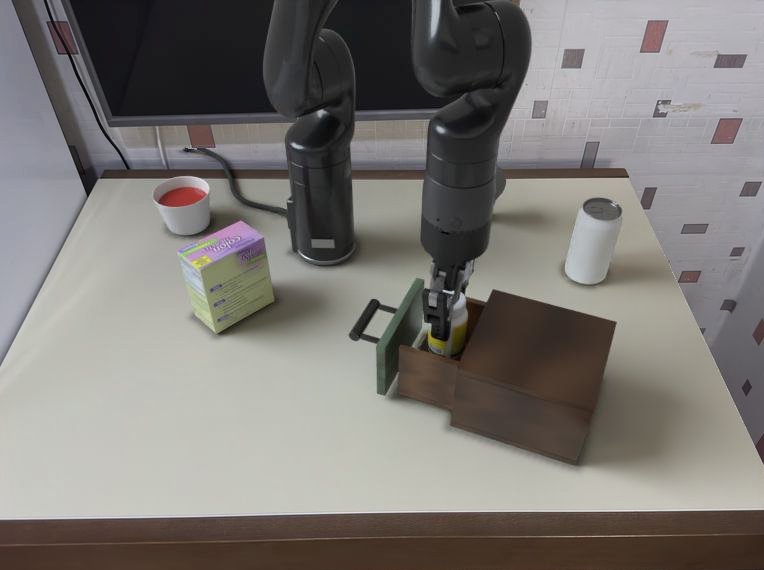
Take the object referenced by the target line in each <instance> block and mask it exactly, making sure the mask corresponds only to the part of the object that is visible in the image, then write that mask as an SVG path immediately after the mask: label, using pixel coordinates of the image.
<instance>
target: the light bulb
mask: <svg viewBox="0 0 764 570" xmlns="http://www.w3.org/2000/svg"><path fill="white" fill-rule="evenodd" d="M506 186H507V177H506V174H505V172H504V170H503V169H502V168H501V166H499V165H498V164H496V172H495V200H494V206H495V204H496V201H497V200H498V199H499V198H500V196H501V195H502V194H503V193H504V191H505V189H506Z"/></svg>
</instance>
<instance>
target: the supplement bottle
mask: <svg viewBox="0 0 764 570" xmlns="http://www.w3.org/2000/svg"><path fill="white" fill-rule="evenodd" d="M443 292H446V293H449V294H454V291H446V290H443ZM465 296H466V294H465V295H464V294H463V293H462V292H461V294H460V299H459V301H458V302H457V303H456V304H455V305H454V307H453V313H452V315H453V316H452V319H451V330H450V337H449V339H448V341H446V342H444V341H441V340H437V339H434V338H432V337H431V324H430V323H427V324H428V325H427V334H428V350H429V352H430V353H432V354H435V355H439V356H442V357H445V358H449V359H452V360H453V359H456V358H458V357H460V356H461V355H462V353H463V352H464V348H465V340H466V330H467V321H468V312H467V309H466V297H467V296H466V297H465ZM447 307H448V305H447Z"/></svg>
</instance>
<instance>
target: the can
mask: <svg viewBox="0 0 764 570" xmlns="http://www.w3.org/2000/svg"><path fill="white" fill-rule="evenodd" d="M622 215H623V209H622V206H621V205H620V204H619V203H618V202H616V201H614V200H613V199H610V198H607V197H599V196H598V197H597V196H596V197H590V198H588V199H586V200H585V201H584V202H583V204H582V207H581V208H580V209H579V210H578V212H577V214H576V219H575V221H574V227H573V232H572V235H571V237H570V238H571V239H570V242H569V247H568V251H567V255H566V259H565V264H564V273H565V274H566V275H567V277H568V278H569V279H570V280H572V281H573V282H575V283H577V284H580V285H584V286H585V285H586V286H592V285H596V284H600V283H601V282H602V281H604V280H605V278H606V277H607V274H608V271H609V268H610V265H611V261H612V258H613V255H614V251H615V248H616V244H617V242H618V238H619V236H620V235H619V234H620V232H621V228H622V225H623V217H622Z"/></svg>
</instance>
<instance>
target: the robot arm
mask: <svg viewBox="0 0 764 570" xmlns="http://www.w3.org/2000/svg"><path fill="white" fill-rule="evenodd" d="M338 1H339V0H273V6H272V11H271V17H270V21H269V26H268V31H267V35H266V40H265V46H264V51H263V58H262V79H263V84H264V89H265V93H266V96H267V98H268V100H269V102H270V104H271V106H272V107H273V108H274V110H275V111H276V112H278V114H280V115H281V116H284V117H286V118H291V119H295V118H296V120H295V122H294V123H293V124H291V126H289V128H288V129H287V131H286V133H285V136H284V148H285V156H286V157H285V158H286V164H287V171H288V173H287V174H288V179H289V180H288V181H289V189H290V196H289V197H288V198H287V200H286V208H283V207H280V206H272V205H268V204H262V203H260V202H259V203H258V202H255V201H252V200H249V199H246V198H245V197H243V196H242V195H241V194H239V192H238V191H237V189H236V185H235V181H234V177H233V176H232V173H231V171H230V168H229V165H228V163H227V162H226V160H225V158H223V157H222V156H220V155H219V154H218V153H216V152H214V151H213V150H210V149H209V148H206V147H204V148H197V150H196V151H200V152H202V153H203V154H204V153H205V154H207V155H208V156H209V157H212V158H213V159H215V160H216V161H218V162H219V163H220V164H221V166H222V168H223V171H224V173H225V176H226V178H227V180H228V184H229V188H230V192H231V194H232V195H233V197H234V198H235V199H236V200H237V201H238V202H240V203H242V204H244V205H246V206H249V207H252V208H255V209H259V210H263V211H267V212H272V213H277V214H278V213H279V214H283V215H286V222H287V229H288V230H289V234H290V241H291V248H292V252H293V253H296V254H298V256H299V257H300V258H301V259H302V260H303V261H305V262H307V263H309V264H312V265H316V266H333V265H337V264H341V263H343V262H345V261H347V260H348V259H350V258H351V257H352V256H353V254H354V253H355V251H356V235H355V217H354V216H355V215H354V213H355V212H354V194H353V193H354V191H353V171H352V155H351V154H352V151H351V150H352V149H351V143H352V141H353V138H354V135H355V129H356V72H355V66H354V60H353V57H352V54H351V51H350V49H349V47H348V45H347V43H346V42H345V40H344V38H342V36H341V35H340V34H339V33H337V31H334V30H332V29H329V28H323V27H324V26H325V22H326V21H327V19H328V17H329V15H330V14H331V13H332V11H333V10H334V8H335V6H336V5H337V3H338ZM410 23H411V26H410V43H409V45H410V46H409V47H410V49H409V50H410V63H411V67H412V71H413V73H414V76H415V78H416V80H417V81H418V84H420V85H421V87H422V88H423V89H424V90H425V91H426V92H427V93H428V94H430V95H432V96H434V97H437V98H447V97H453V96H454V97H455V96H459V95H462V96H460V97H459V98H458V99H456V100H454V101H452V102H451V103H449V104H446V105H445V106H443V107H441V108H440V109H438V110H436V111H435V112H434V113H433V114H432V116H431V117H430V119H429V121H428V125H427V136H426V151H425V152H426V153H425V154H426V155H425V173H424V177H423V182H422V191H421V211H420V213H421V214H420V239H419V240H420V244H421V247H422V248H423V250H424V251H425V253H427V254H428V255H429V256H430V257H431V258H432V260H431V264H430V270H429V274H430V282H429V288H427V287H424V290H423V292H422V304H423V322H424V323H426V324H428V323H430V324H431V337H432V338H434V339H437V340H441V341H444V342H446V341H448V339H449V337H450V330H451V319H452V316H453V315H452V313H453V307H454V305H455V304H456V303H457V302H458V301H459V299H460V294H461V292H462V293H463V294H464V295H465V296H466V290H467V288H468V286H470V279H471V276H472V275H473V274H474V272H475V262H476V260H477V259H478V258H480V257H481V256H482V255H483V254H484V253H485V252H486V251H487V250H488V247H489V244H490V237H491V231H492V230H491V229H492V221H493V215H494V213H493V212H494V207H495V205H494V200H495V172H496V165H498V164H497V163H498V157H499V155H498V154H499V150H500V141H501V136H502V133H503V131H504V129H505V127H506V124H507V122H508V120H509V118H510V115H511V113H512V111H513V108H514V105H515V103H516V101H517V99H518V96H519V94H520V92H521V89H522V87H523V84H524V83H525V79H526V77H527V73H528V71H529V68H530V63H531V59H532V53H533V51H532V50H533V37H532V30H531V25H530V22H529V19H528V17H527V15H526V13H525V12H524V10H523V9H522V8H521V7H520V6H519V5H518V4H517V3H516V2H514V1H512V0H486V1H481V2H474V3H467V4H461V5H454V4H453V0H411V22H410ZM192 150H193V151H195V150H194V149H188V148H186V146H185V147H184V148H183V149H182V151H183V152H184V153H187V152H189V151H192ZM443 290H446V291H454V294H449V293H446V292H443ZM447 305H448V307H447Z"/></svg>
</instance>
